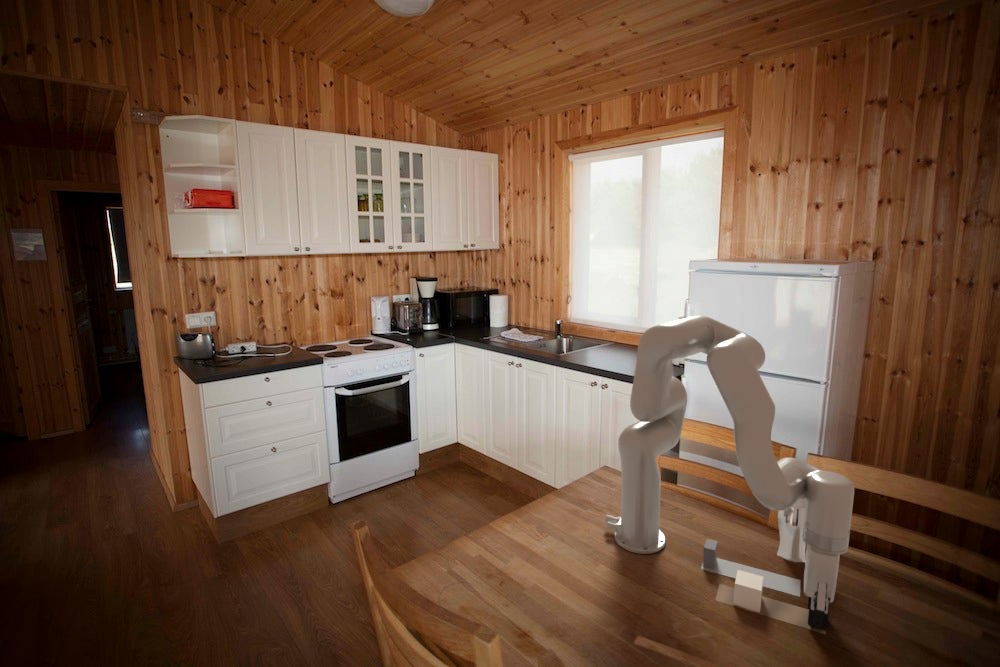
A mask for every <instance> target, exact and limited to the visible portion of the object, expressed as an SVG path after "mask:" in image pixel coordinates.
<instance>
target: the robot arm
mask: <svg viewBox="0 0 1000 667" xmlns="http://www.w3.org/2000/svg"><path fill="white" fill-rule="evenodd" d="M699 353H702V354H704V355H707V356H706V365H707V368H708V371H709V373H710V375H711V377H712V379H713V381H714V383H715V385H716V387H717V390H718V392H719V394H720V396H721V398H722V400H723V402H724V404H725V406H726V408H727V411H728V412H729V414H730V416H731V419H732V421H733V438H734V447H735V454H736V458H737V462H738V466H739V468H740V471H741V473H742V475H743V477H744V478H745V481H746V483H747V486H748V487H749V489H750V491H751V492H752V494H753V496H754V497H755V499H756V500H757V501H758V502H759V503H760V505H762V506H764V507H765V508H766V509H769V510H771V511H775V512H776V511H777V512H778V511H781V510H785V509H788V508H789V507H791V506H792V505H793V504H794V503H796V502H797V501H798V500H799V499H804V500H805V501H806V503H805V513H804V525H803V536H802V539H803V541H804V543H805V544H806V549H805V556H806V560H805V562H804V570H803V571H804V573H803V594H804V595H805V596H806V597H807V598H808V603H807V609H808V610H809V615H808V625H809V626H812V627H815V628H818V629H822V630H826V631H827V630H828V622H829V612H830V611H829V604H831V603H833V602H834V600H835V595H836V588H837V581H838V574H839V567H840V566H839V565H840V559H841V558H840V556H841V555H844V554H845V553H847V552H848V550H849V543H850V534H851V525H852V524H851V523H852V514H853V506H854V497H855V486H854V483H853V482H852V480H850V478H848V477H846V475H842V474H840V473H839V472H838V473H837V472H835V471H827V470H826V471H825V470H823V469H820V468H819V467H816V466H814V465H812V464H810V463H807V462H806V461H804V460H801V459H799V458H795V457H789V456H788V457H781V458H780V459H779V460H777V459H776V457H775V453H774V450H773V444H772V431H773V430H772V429H773V426H774V421H775V416H776V405H775V403H774V401H773V399H772V397H771V395H770V392H769V390H768V389H767V387H766V385H765V383H764V381H763V379H762V376H761V374H760V373H759V370H760V369H761V367H762V366H764V364H765V362H766V361H765V360H766V351H765V349H764V347H763V345H762V344H761V342H759V341H758V340H757V339H755V338H754V337H753V336H751V335H749V334H747V333H745V332H743V331H740V330H738V329H736V328H734V327H731V326H729V325H727V324H726V323H723V322H721V321H718V320H716V319H715V318H711V317H708V316H704V315H691V316H688V317H685V318H680V319H675V320H671V321H668V322H664V323H663V322H662V323H659V324H657V325H653V326H651V327H650V328H648V329H646V330H645V332H643V334H642V335H641V337H640V338H639V341H638V346H637V356H636V364H635V369H634V370H635V371H634V375H633V380H632V387H631V392H630V393H631V394H630V403H629V407H630V408H629V409H630V411H631V414H632V415H633V417H634V418H635V419H636V420H638V421H636V422H634V423H631V424H630V425H628V426H627V427H626V428H624V430H622V432H621V433H620V434H619V437H618V440H617V445H618V454H619V457H620V467H621V468H620V470H621V481H620V482H621V490H620V491H621V493H620V494H621V495H620V496H621V498H620V499H621V500H620V501H621V503H620V505H621V506H620V516H618V517H615V516H613V515H611V514H606V516H605V523H606V527H607V528H611V529H615V531H614V540H615V542H616V543H617V545H618V546H620V547H621V548H622V549H623V550H626V551H629V552H632V553H634V554H639V555H640V554H641V555H642V554H643V555H645V554H646V555H648V554H655V553H657V552H660V551H661V550H662V549H663V548H664V547H665V546H666V536H665V534H664V533H663V532H662V531H661V530H660V520H661V519H660V517H661V516H660V515H661V487H662V485H661V484H662V482H661V481H662V480H661V479H662V478H661V471H660V468H659V465H658V464H657V463H658V462H657V459H658V458H659V457H660V456H661V455H663V454H665V453H666V452H668V451H670V450H672V449H674V447H676V445H678V443H679V442H680V438H681V435H682V430H683V426H684V421H685V416H686V415H685V414H686V410H687V405H688V392H687V390H686V387H685V385H684V383H683V382H682V381H681V380H680V379H679V378H677V377H675V376H673V373H674V365H673V360H675V359H682V358H687V357H691V356H694V355H697V354H699ZM815 592H816V593H815ZM817 593H818V594H817ZM825 595H826V596H825ZM811 597H812V600H811ZM815 598H816V599H817V602H815Z"/></svg>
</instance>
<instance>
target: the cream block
mask: <svg viewBox="0 0 1000 667" xmlns="http://www.w3.org/2000/svg"><path fill="white" fill-rule="evenodd" d="M734 581H735V582H734V587H733V588H734V605H737V606H740V607H743V608H747V609H750V610H753V611H757V612H760V608H761V601H762V596H763V589H764V587H763V576H759V575H756V574H752V573H748V572H744V571H741V570H738V571H737V575H736V579H735V580H734Z"/></svg>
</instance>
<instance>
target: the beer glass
mask: <svg viewBox="0 0 1000 667" xmlns="http://www.w3.org/2000/svg"><path fill="white" fill-rule="evenodd" d="M805 503H806V501H805V500H804V499H799V500H798V501H797V502H796V503H794V504H793V505H792V506H791V507H789V508H788V509H785V510H781V511H777V512H778V514H777V525H778V533H779V547H778V550H777V553H776V555H777V557H781V558H782V559H784V560H786V561H789V562H793V563H805V560H806V547H807V545H806V544H805V543H804V541H803V539H802V536H803V525H804V513H805Z"/></svg>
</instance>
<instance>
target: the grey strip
mask: <svg viewBox="0 0 1000 667" xmlns="http://www.w3.org/2000/svg"><path fill="white" fill-rule="evenodd" d="M718 542H719V541H718V540H714V539H711V538H706V540H705V543H704V545H703V557H702V558H703V559H702V564H701V567H700V569H701V570H703V571H707V572H710V573H714V574H717V575H721V576H724V577H729V578H731V579H735V580H736V575H737V571H738V570H741V571H744V572H748V573H752V574H756V575H759V576H763V588H767V589H770V590H775V591H777V592H781V593H785V594H789V595H791V596H792V595H793V596H795V597H801V579H798V578H793V577H790V576H787V575H782V574H779V573H775V572H771V571H768V570H764V569H760V568H756V567H753V566H749V565H745V564H741V563H738V562H734V561H730V560H727V559H722V558H719V557H718Z"/></svg>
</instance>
